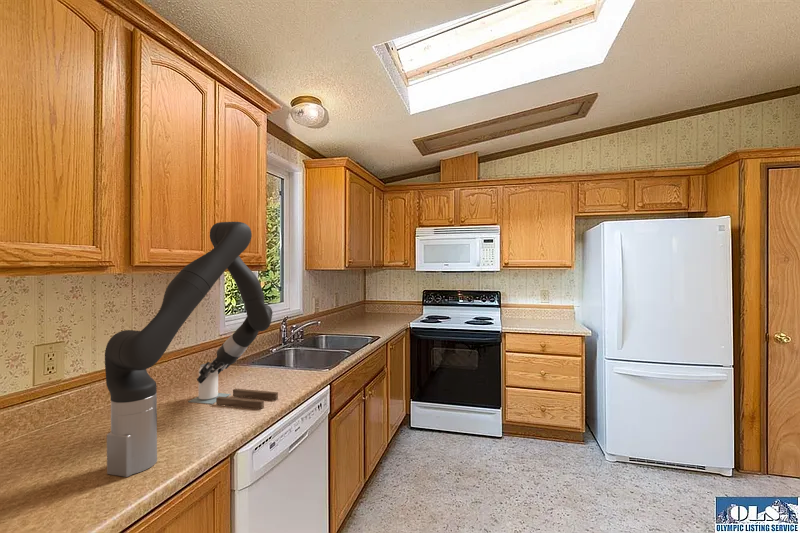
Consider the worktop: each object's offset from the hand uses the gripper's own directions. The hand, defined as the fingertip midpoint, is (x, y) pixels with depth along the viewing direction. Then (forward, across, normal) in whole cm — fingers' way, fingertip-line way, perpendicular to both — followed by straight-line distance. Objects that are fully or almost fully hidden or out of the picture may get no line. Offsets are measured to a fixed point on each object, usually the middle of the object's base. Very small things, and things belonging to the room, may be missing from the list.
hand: (206, 378), depth 139 cm
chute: (-7, 0, +18) cm, 19 cm away
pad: (+4, 0, +6) cm, 7 cm away
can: (+4, 0, +6) cm, 7 cm away
